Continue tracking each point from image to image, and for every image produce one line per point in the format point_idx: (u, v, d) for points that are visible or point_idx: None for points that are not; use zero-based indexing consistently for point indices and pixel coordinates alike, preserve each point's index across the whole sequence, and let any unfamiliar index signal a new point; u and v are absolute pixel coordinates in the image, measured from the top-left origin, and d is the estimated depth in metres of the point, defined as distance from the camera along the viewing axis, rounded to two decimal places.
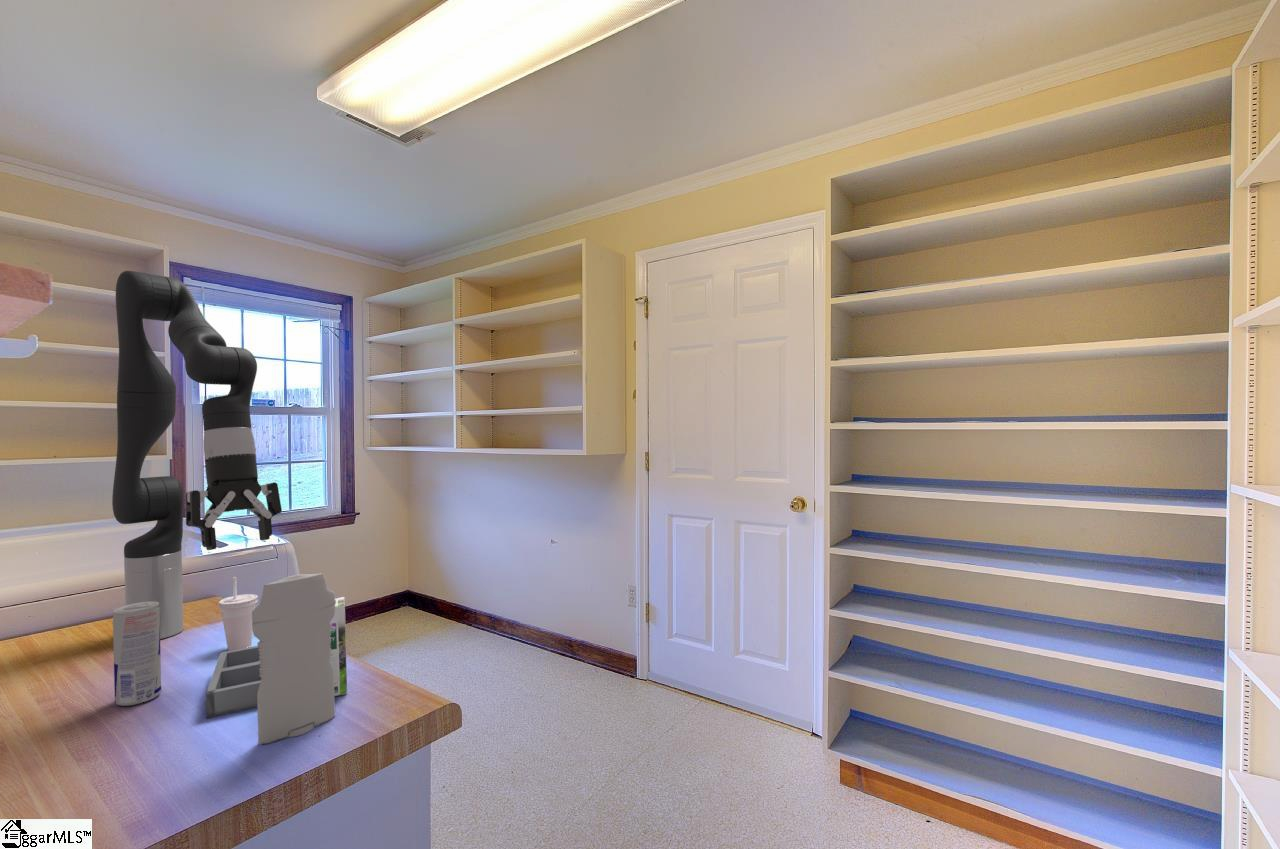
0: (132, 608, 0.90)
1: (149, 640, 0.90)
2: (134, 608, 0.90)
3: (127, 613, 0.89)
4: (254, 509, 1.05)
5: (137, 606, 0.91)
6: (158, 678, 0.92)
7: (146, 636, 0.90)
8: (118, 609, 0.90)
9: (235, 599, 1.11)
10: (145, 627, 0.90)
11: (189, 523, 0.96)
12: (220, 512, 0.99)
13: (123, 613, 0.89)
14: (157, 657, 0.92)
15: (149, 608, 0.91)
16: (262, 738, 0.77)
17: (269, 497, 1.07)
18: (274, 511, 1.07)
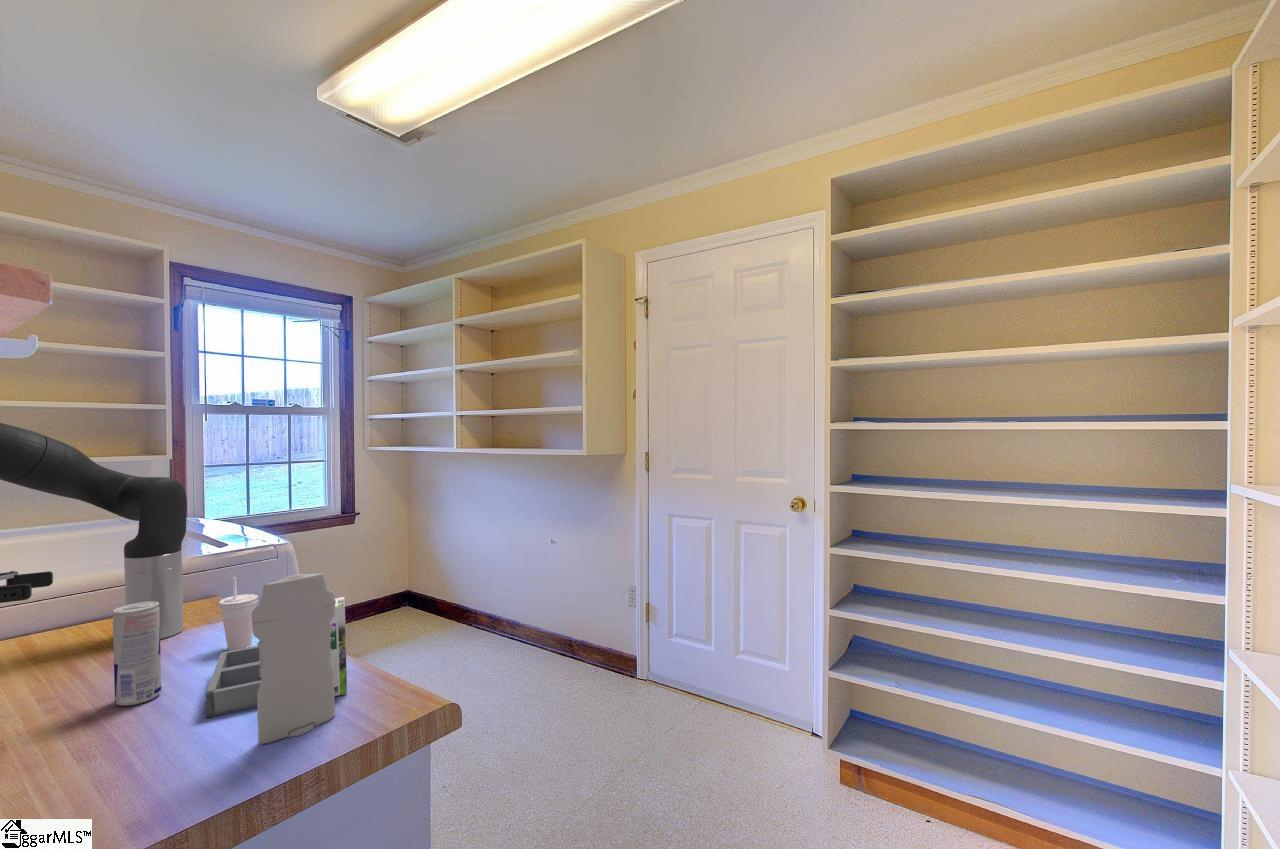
0: (132, 608, 0.90)
1: (149, 640, 0.90)
2: (134, 608, 0.90)
3: (127, 613, 0.89)
4: None
5: (137, 606, 0.91)
6: (158, 678, 0.92)
7: (146, 636, 0.90)
8: (118, 609, 0.90)
9: (235, 599, 1.11)
10: (145, 627, 0.90)
11: None
12: None
13: (123, 613, 0.89)
14: (157, 657, 0.92)
15: (149, 608, 0.91)
16: (262, 738, 0.77)
17: None
18: None
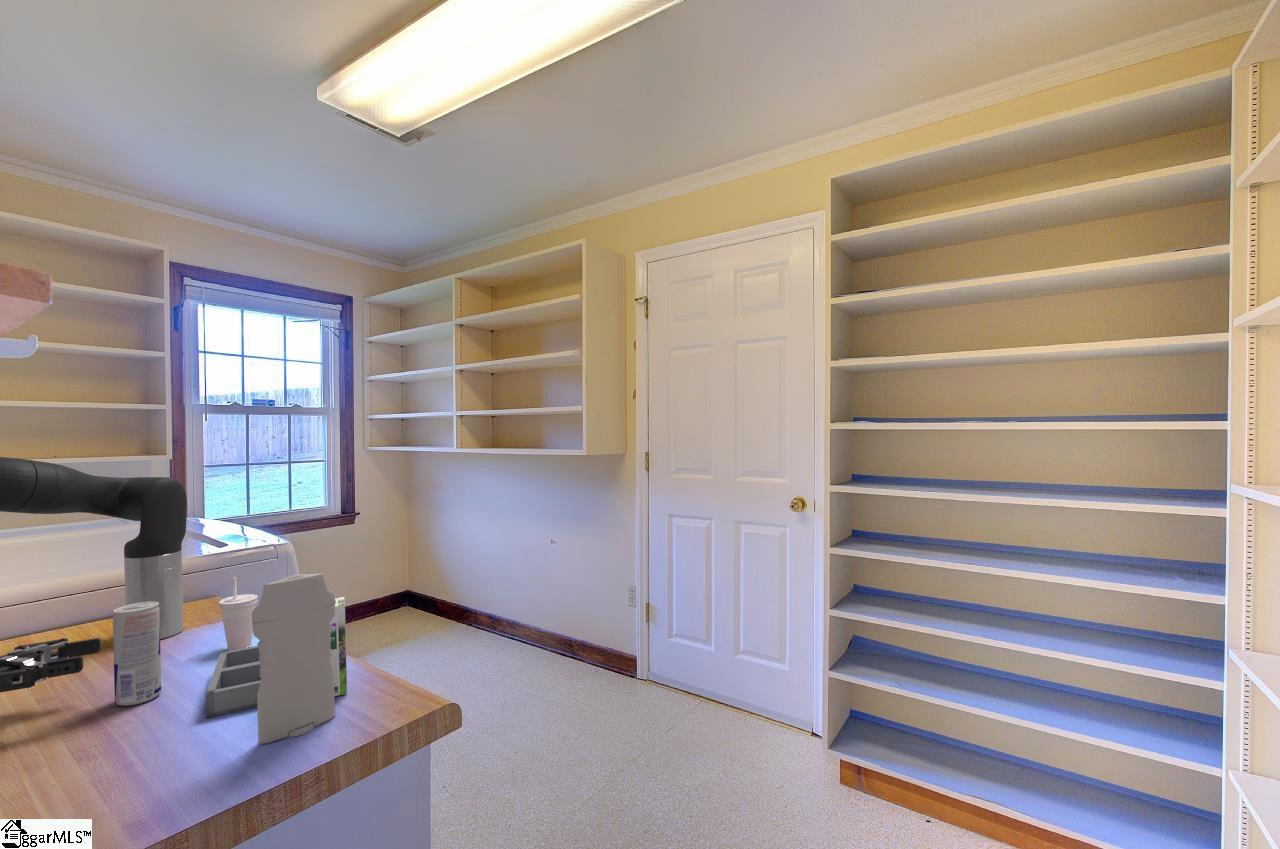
0: (132, 608, 0.90)
1: (149, 640, 0.90)
2: (134, 608, 0.90)
3: (127, 613, 0.89)
4: None
5: (137, 606, 0.91)
6: (158, 678, 0.92)
7: (146, 636, 0.90)
8: (118, 609, 0.90)
9: (235, 599, 1.11)
10: (145, 627, 0.90)
11: None
12: None
13: (123, 613, 0.89)
14: (157, 657, 0.92)
15: (149, 608, 0.91)
16: (262, 738, 0.77)
17: None
18: None
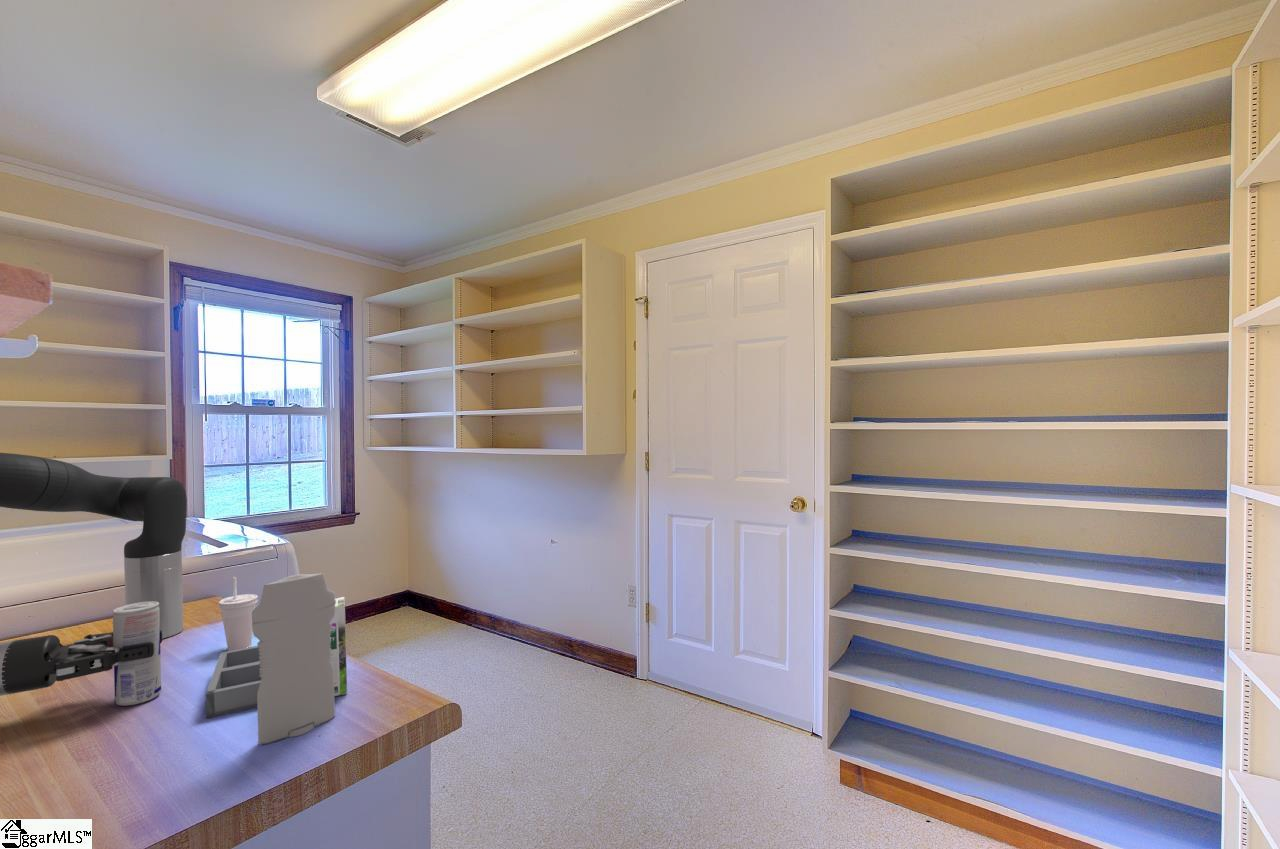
0: (132, 608, 0.90)
1: (149, 640, 0.90)
2: (134, 608, 0.90)
3: (127, 613, 0.89)
4: None
5: (137, 606, 0.91)
6: (158, 678, 0.92)
7: (146, 636, 0.90)
8: (118, 609, 0.90)
9: (235, 599, 1.11)
10: (145, 627, 0.90)
11: None
12: None
13: (123, 613, 0.89)
14: (157, 657, 0.92)
15: (149, 608, 0.91)
16: (262, 738, 0.77)
17: None
18: None
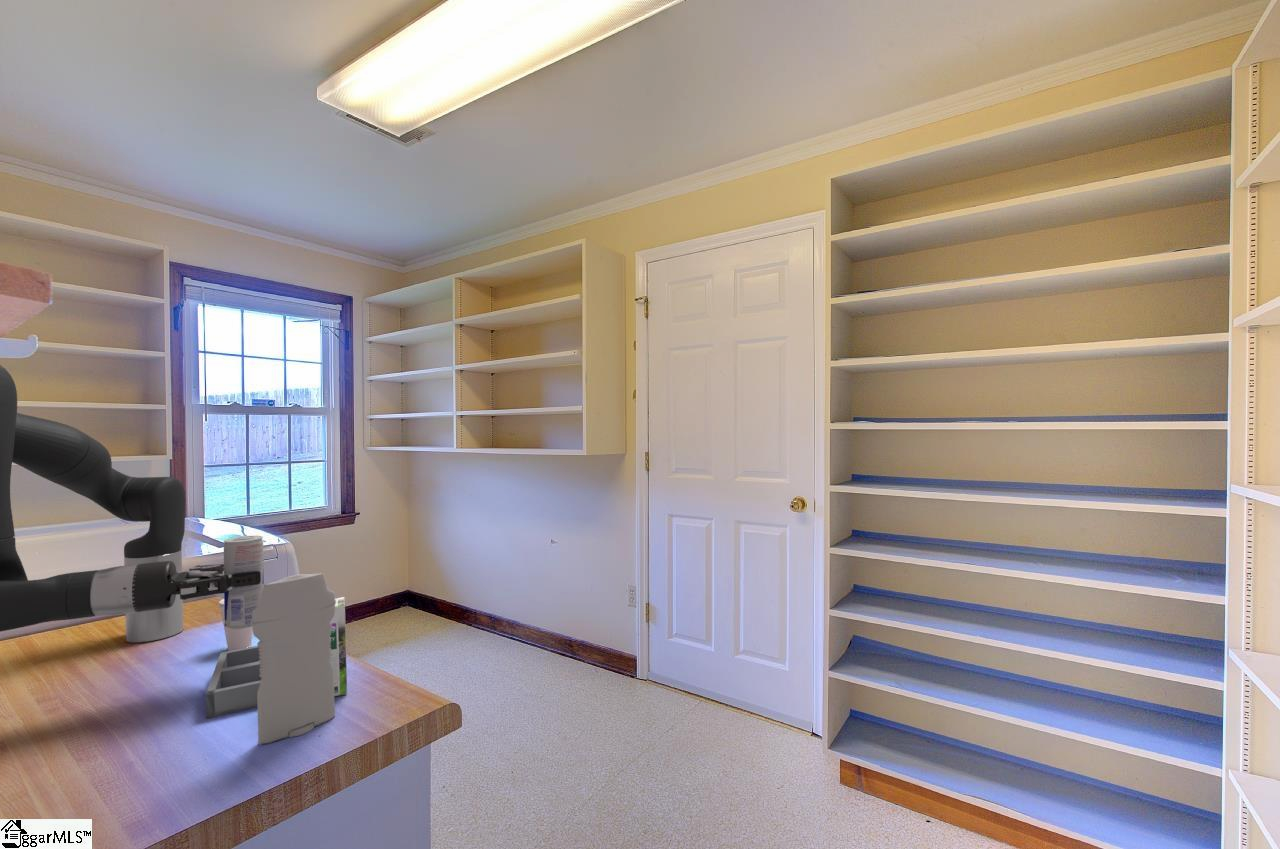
0: (240, 539, 0.97)
1: (255, 569, 0.97)
2: (242, 539, 0.97)
3: (237, 543, 0.96)
4: None
5: (244, 538, 0.98)
6: None
7: (253, 565, 0.97)
8: (228, 540, 0.97)
9: None
10: (253, 557, 0.97)
11: None
12: None
13: (234, 542, 0.96)
14: (261, 585, 0.99)
15: (256, 539, 0.98)
16: (262, 738, 0.77)
17: None
18: None
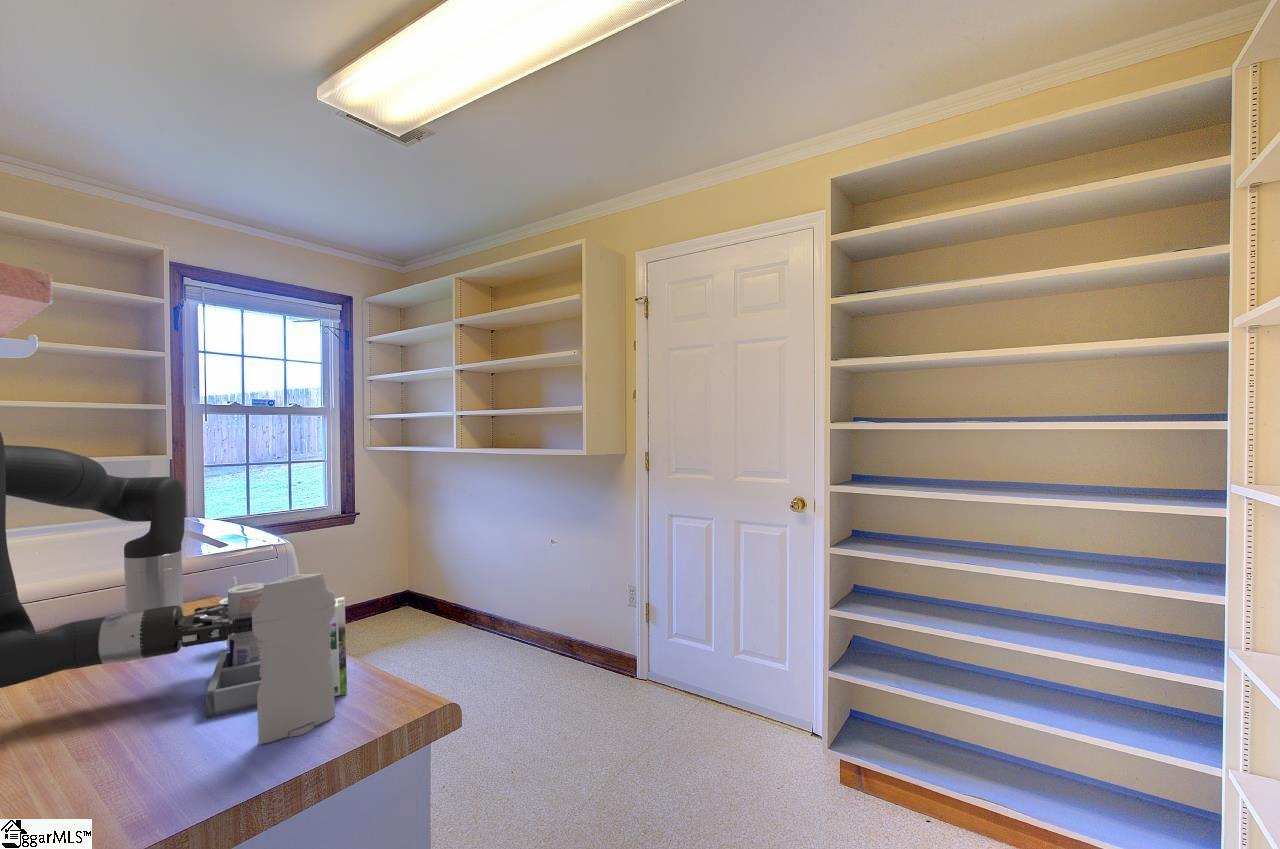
0: (244, 589, 0.98)
1: None
2: (246, 589, 0.98)
3: (241, 593, 0.96)
4: None
5: (248, 587, 0.98)
6: None
7: None
8: (231, 590, 0.97)
9: None
10: None
11: None
12: None
13: (238, 593, 0.96)
14: None
15: (260, 589, 0.98)
16: (262, 738, 0.77)
17: None
18: None
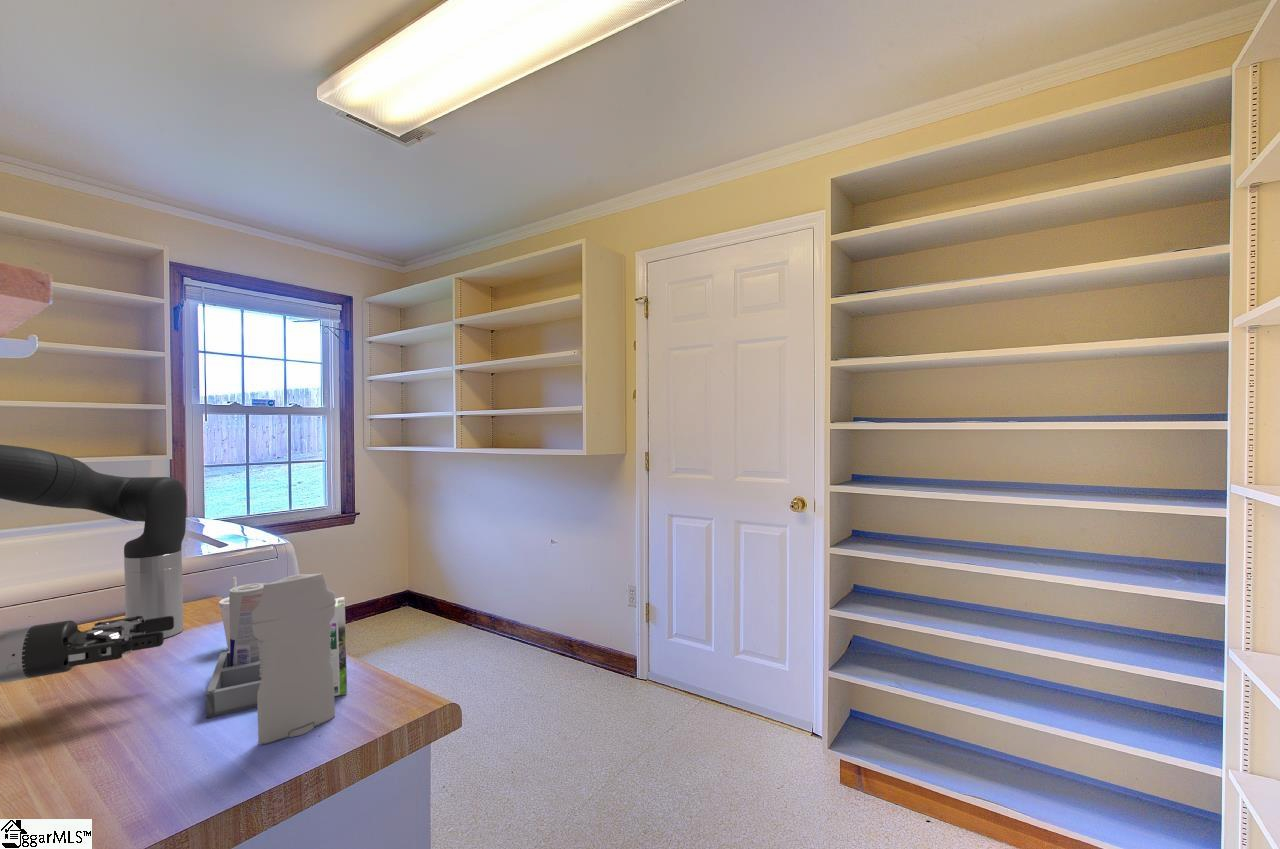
0: (246, 588, 0.98)
1: None
2: (248, 588, 0.98)
3: (243, 593, 0.96)
4: None
5: (250, 587, 0.99)
6: None
7: None
8: (233, 589, 0.98)
9: None
10: None
11: None
12: None
13: (240, 592, 0.96)
14: None
15: (261, 588, 0.98)
16: (262, 738, 0.77)
17: None
18: None
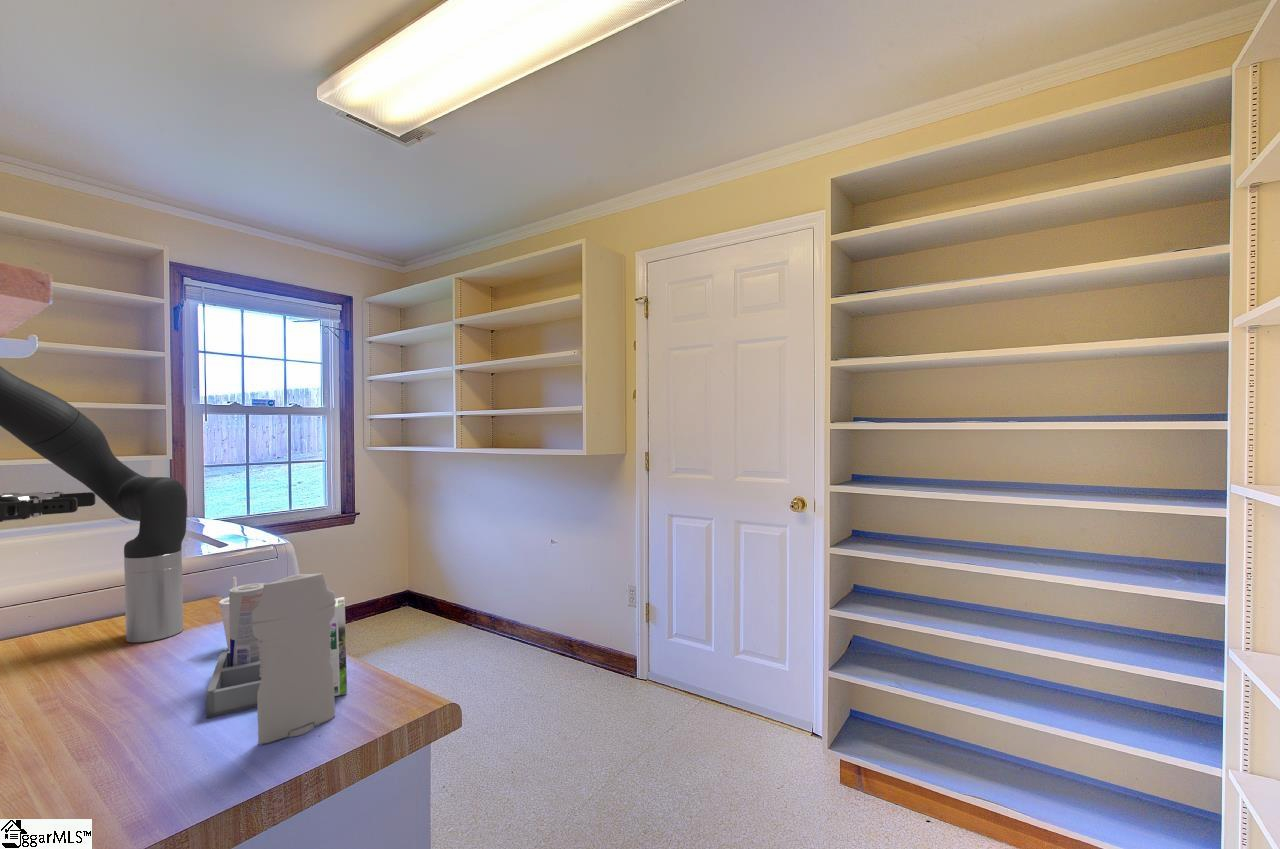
0: (246, 588, 0.98)
1: None
2: (248, 588, 0.98)
3: (243, 593, 0.96)
4: None
5: (250, 587, 0.99)
6: None
7: None
8: (233, 589, 0.98)
9: None
10: None
11: None
12: None
13: (239, 592, 0.96)
14: None
15: (261, 588, 0.98)
16: (262, 738, 0.77)
17: None
18: None
